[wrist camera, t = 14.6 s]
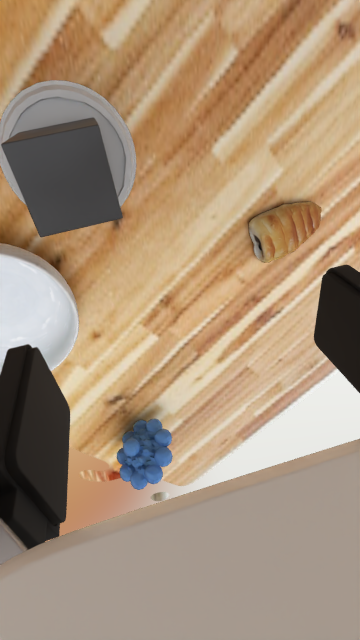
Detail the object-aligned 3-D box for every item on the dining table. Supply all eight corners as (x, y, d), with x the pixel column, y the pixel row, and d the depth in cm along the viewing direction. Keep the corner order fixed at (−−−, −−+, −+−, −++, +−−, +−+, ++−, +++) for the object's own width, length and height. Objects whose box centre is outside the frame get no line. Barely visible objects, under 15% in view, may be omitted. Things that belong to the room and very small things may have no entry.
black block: (94, 117, 22) (98, 123, 17) (114, 193, 25) (123, 218, 20) (17, 132, 21) (-1, 143, 16) (48, 209, 24) (40, 238, 19)
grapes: (143, 392, 54) (157, 456, 45) (171, 407, 58) (189, 469, 49) (97, 433, 57) (101, 502, 48) (127, 445, 61) (135, 510, 51)
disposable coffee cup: (1, 95, 29) (-38, 96, 20) (106, 74, 30) (118, 66, 21) (44, 202, 35) (31, 244, 25) (132, 181, 36) (151, 214, 26)
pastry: (310, 184, 41) (328, 192, 38) (317, 231, 45) (334, 241, 42) (242, 219, 42) (255, 230, 38) (255, 262, 46) (268, 275, 43)
